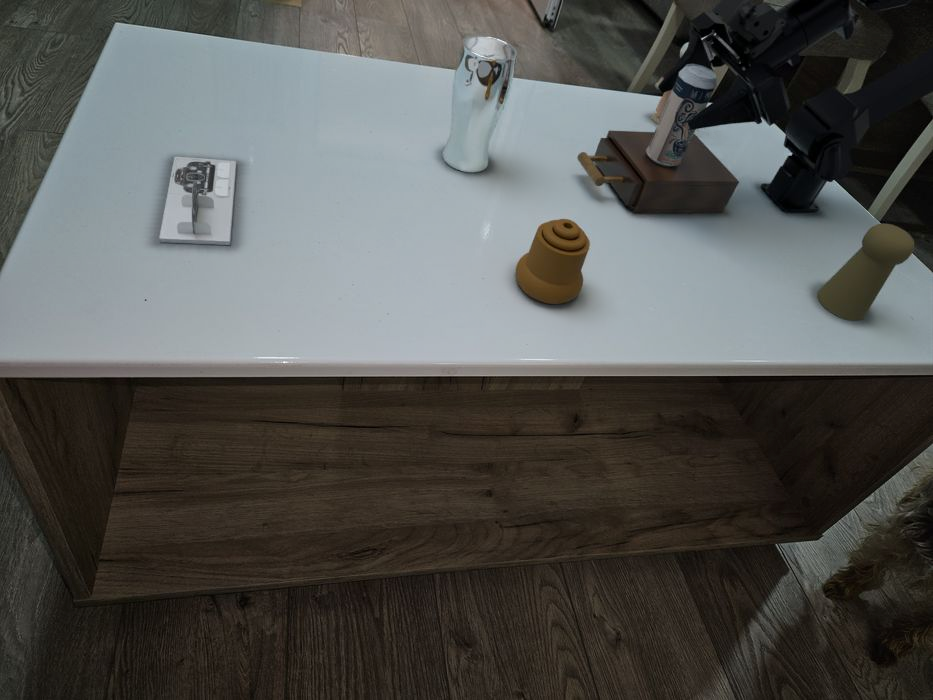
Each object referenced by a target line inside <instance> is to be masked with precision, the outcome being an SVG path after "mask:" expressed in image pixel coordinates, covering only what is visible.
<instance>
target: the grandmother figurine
mask: <svg viewBox="0 0 933 700" xmlns="http://www.w3.org/2000/svg"><path fill="white" fill-rule="evenodd" d="M688 43H689V41H688V42H686V43H684V44H683V45H682V47H681V48H680V50H679V59H680V58H681V57H682V55H683V54H684V52H685V51H686V49H687V47H688ZM673 67H674V66H671V67H670V68H669V69H668V70H666V72H664V73H663V74H662V75H661V77H660V79H659V80H658V82H656V83H655V84H654V87H655V89H656V90H659V88H658V85H659V84H660V83H661V82H662V80H663V79H664V78H665V77H666V75H667V74H668V73H669V72H670V71H671V69H672V68H673ZM671 92H672V90H670V91H667V92H664V93H662V94H663V95H662V96H661V98H660V100H659V102H658V103H657V106H656V108H655V112H656V113H653V114H652V115H651V120H652V121H654V122H655V123H656V124H658V123H659V120H660V118H661V115H662V113H663V111H664V108H665V106H666V104H667V101H668V99H669V97H670V94H671Z"/></svg>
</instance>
